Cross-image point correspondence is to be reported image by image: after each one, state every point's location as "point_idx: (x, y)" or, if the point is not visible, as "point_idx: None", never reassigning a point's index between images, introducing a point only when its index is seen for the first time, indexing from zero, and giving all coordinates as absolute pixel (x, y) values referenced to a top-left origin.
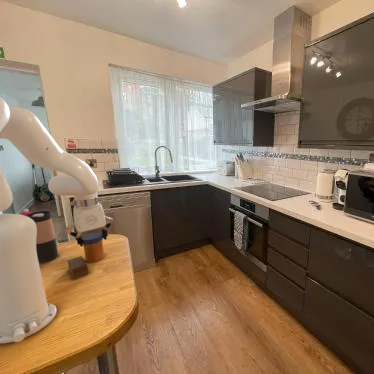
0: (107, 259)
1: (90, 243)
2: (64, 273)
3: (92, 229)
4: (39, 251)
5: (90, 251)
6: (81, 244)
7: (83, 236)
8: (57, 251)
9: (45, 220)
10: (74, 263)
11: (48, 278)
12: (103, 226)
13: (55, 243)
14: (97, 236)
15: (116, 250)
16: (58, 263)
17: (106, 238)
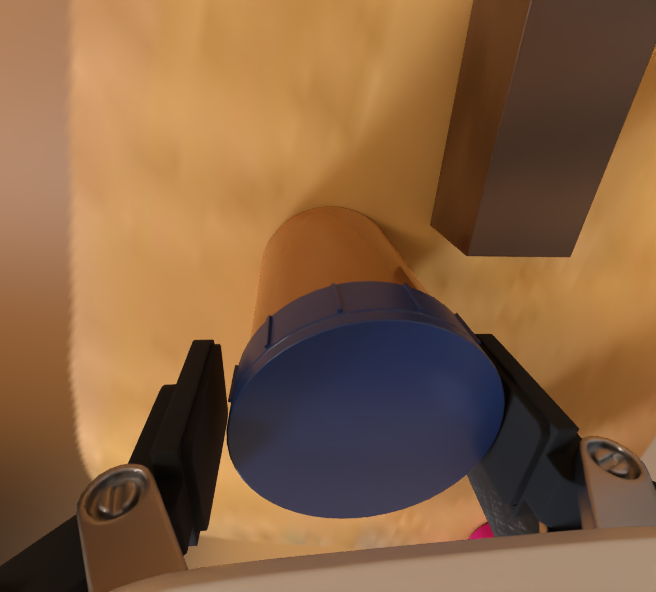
0: (261, 164)
1: (425, 294)
2: None
3: (441, 546)
4: None
5: (397, 256)
6: (499, 347)
7: (445, 485)
8: (478, 470)
9: None
10: (586, 124)
11: (639, 198)
12: (122, 588)
13: (522, 527)
14: (314, 380)
15: (158, 283)
16: None
17: (192, 346)
